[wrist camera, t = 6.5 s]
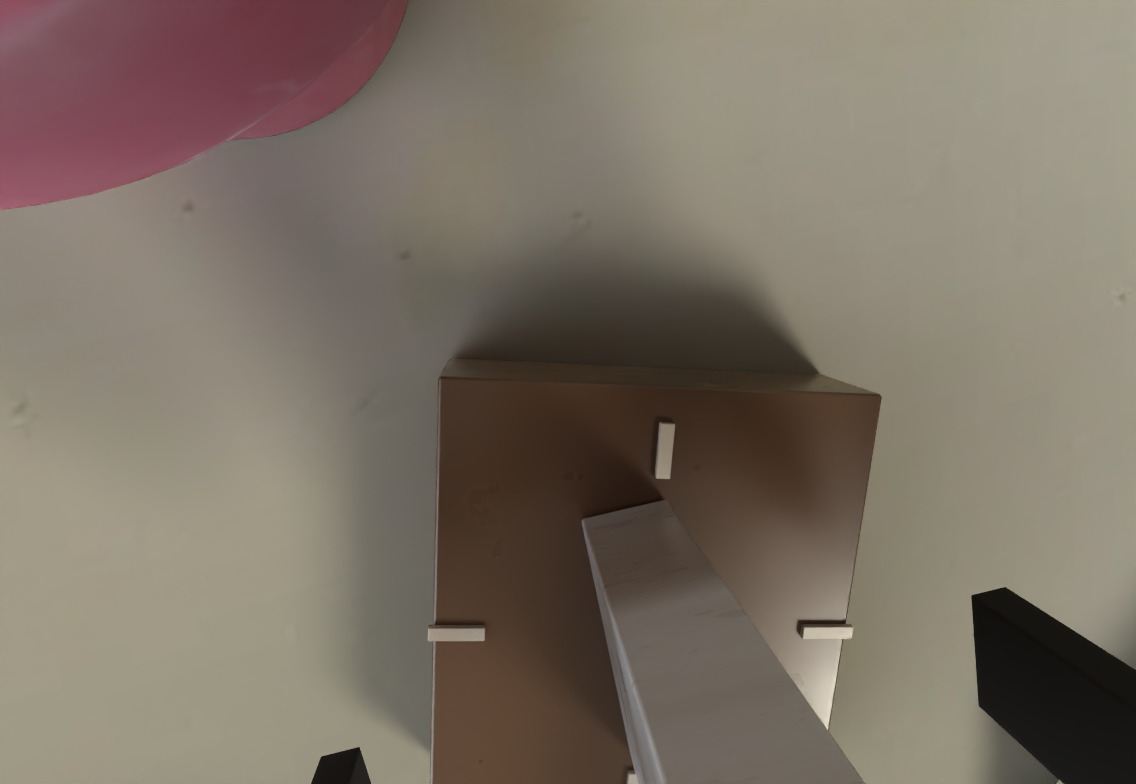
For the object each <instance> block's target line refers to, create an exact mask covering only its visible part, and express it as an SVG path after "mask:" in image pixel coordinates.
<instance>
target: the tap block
mask: <svg viewBox="0 0 1136 784" xmlns="http://www.w3.org/2000/svg"><path fill="white" fill-rule="evenodd" d="M880 404H881V395H880V394H878V393H875V392H872V391H869V390H866V389H863V388H860V387H857V386H854V385H851V384H848V383H845V382H842V381H839V380H836V379H833V378H830V377H827V376H824V375H813V374H790V373H768V372H745V371H722V370H700V369H677V368H654V367H632V366H609V365H587V364H564V363H541V362H519V361H496V360H473V359H450V360H449V361H448V363H447V365H446V366H445V368H444V370H443V371H442V373H441V375H440V377H439V379H438V412H437V461H436V511H435V561H434V611H433V625H429V627H428V641H433V661H432V710H431V760H430V784H638V781H637V778H636V774H635V770H634V766H633V762H632V758H631V755H630V750H629V745H628V740H627V736H626V731H625V726H624V721H623V717H622V712H621V707H620V702H619V698H618V693H617V688H616V683H615V679H614V674H613V669H612V664H611V660H610V655H609V650H608V645H607V641H606V636H605V631H604V626H603V622H602V617H601V612H600V607H599V603H598V598H597V593H596V588H595V584H594V579H593V574H592V569H591V565H590V560H589V555H588V550H587V546H586V541H585V536H584V531H583V527H582V520H583V519H585V518H589V517H593V516H598V515H602V514H606V513H611V512H615V511H619V510H624V509H628V508H632V507H636V506H641V505H645V504H649V503H654V502H658V501H662V500H667V502H668V503H669V505H670V506H671V507H672V509H673V510H674V512H675V513H676V515H677V516H678V517H679V519H680V520H681V522H682V523H683V525H684V526H685V527H686V529H687V530H688V532H689V533H690V534H691V536H692V537H693V539H694V540H695V542H696V543H697V544H698V546H699V547H700V549H701V550H702V552H703V553H704V554H705V556H706V557H707V559H708V560H709V562H710V563H711V564H712V566H713V567H714V569H715V570H716V572H717V573H718V574H719V576H720V577H721V579H722V580H723V582H724V583H725V584H726V586H727V587H728V589H729V590H730V591H731V593H732V594H733V596H734V597H735V599H736V600H737V601H738V603H739V604H740V606H741V607H742V609H743V610H744V611H745V613H746V614H747V616H748V617H749V619H750V620H751V621H752V623H753V624H754V626H755V627H756V629H757V630H758V631H759V633H760V634H761V636H762V637H763V639H764V640H765V641H766V643H767V644H768V646H769V647H770V648H771V650H772V651H773V653H774V654H775V656H776V657H777V658H778V660H779V661H780V663H781V664H782V666H783V667H784V668H785V670H786V671H787V673H788V674H789V676H790V677H791V678H792V680H793V681H794V683H795V684H796V686H797V687H798V688H799V690H800V691H801V693H802V694H803V696H804V697H805V698H806V700H807V701H808V703H809V704H810V705H811V707H812V708H813V710H814V711H815V713H816V714H817V715H818V717H819V718H820V720H821V721H822V723H823V724H824V725H825V727H826V728H827V730H828V731H829V725H830V719H831V712H832V706H833V700H834V693H835V687H836V681H837V675H838V668H839V662H840V656H841V649H842V643H843V639H852V633H853V626H852V625H851V624H846V618H847V612H848V605H849V599H850V593H851V587H852V580H853V574H854V568H855V561H856V555H857V549H858V543H859V536H860V530H861V524H862V517H863V511H864V505H865V498H866V492H867V486H868V480H869V473H870V467H871V461H872V454H873V448H874V442H875V436H876V429H877V423H878V417H879V410H880Z"/></svg>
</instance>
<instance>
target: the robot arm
mask: <svg viewBox="0 0 1136 784" xmlns="http://www.w3.org/2000/svg"><path fill="white" fill-rule="evenodd" d="M972 611H973V626H974V641H975V656H976V671H977V686H978V701H979V706H980V707H981V708H982V709H983V710H984V711H985V712H986V713H987V714H988V715H989V716H991V717H992V718H993V719H994V720H995V721H996V722H997V723H998V724H999V725H1000V726H1001V727H1002V728H1004V729H1005V730H1006V731H1007V732H1008V733H1009V734H1010V735H1011V736H1012V737H1013V738H1014V739H1015V740H1017V741H1018V742H1019V743H1020V744H1021V745H1022V746H1023V747H1024V748H1025V749H1026V750H1027V751H1028V752H1030V753H1031V754H1032V755H1033V756H1034V757H1035V758H1036V759H1037V760H1038V761H1039V762H1040V763H1042V764H1043V765H1044V766H1045V767H1046V768H1047V769H1048V770H1049V771H1050V772H1051V773H1052V774H1053V775H1055V776H1056V777H1057V778H1058V779H1059V780H1060V781H1061V782H1062V783H1063V784H1136V670H1135V669H1133V668H1131V667H1130V666H1128V665H1127V664H1125V663H1124V662H1122V661H1120V660H1119V659H1117V658H1116V657H1114V656H1113V655H1111V654H1109V653H1108V652H1106V651H1105V650H1103V649H1102V648H1100V647H1098V646H1097V645H1095V644H1094V643H1092V642H1091V641H1089V640H1087V639H1086V638H1084V637H1083V636H1081V635H1080V634H1078V633H1076V632H1075V631H1073V630H1072V629H1070V628H1069V627H1067V626H1065V625H1064V624H1062V623H1061V622H1059V621H1058V620H1056V619H1054V618H1053V617H1051V616H1050V615H1048V614H1047V613H1045V612H1043V611H1042V610H1040V609H1039V608H1037V607H1036V606H1034V605H1032V604H1031V603H1029V602H1028V601H1026V600H1025V599H1023V598H1021V597H1020V596H1018V595H1017V594H1015V593H1014V592H1012V591H1010V590H1009V589H1007V588H1006V587H1004V588H1000V589H996V590H991V591H987V592H983V593H979V594H975V595H972ZM311 784H371V782H370V779H369V776H368V772H367V769H366V766H365V763H364V760H363V757H362V754H361V751H360V747H358V748H354V749H350V750H346V751H342V752H338V753H334V754H330V755H326V756H322V757H321V759H320V761H319V764H318V767H317V769H316V772H315V775H314V777H313V780H312V783H311Z"/></svg>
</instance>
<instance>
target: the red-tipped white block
mask: <svg viewBox="0 0 1136 784" xmlns="http://www.w3.org/2000/svg"><path fill="white" fill-rule="evenodd" d="M582 527H583V531H584V536H585V541H586V546H587V550H588V555H589V560H590V565H591V569H592V574H593V579H594V584H595V588H596V593H597V598H598V603H599V607H600V612H601V617H602V622H603V626H604V631H605V636H606V641H607V645H608V650H609V655H610V660H611V664H612V669H613V674H614V679H615V683H616V688H617V693H618V698H619V702H620V707H621V712H622V717H623V721H624V726H625V731H626V736H627V740H628V745H629V750H630V755H631V758H632V762H633V766H634V770H635V774H636V778H637V781H638V784H865V782H864V781H863V780H862V778H861V777H860V775H859V774H858V772H857V771H856V770H855V768H854V767H853V765H852V764H851V763H850V761H849V760H848V758H847V757H846V755H845V754H844V753H843V751H842V750H841V748H840V747H839V745H838V744H837V743H836V741H835V740H834V738H833V737H832V735H831V734H830V733H829V731H828V730H827V728H826V727H825V725H824V724H823V723H822V721H821V720H820V718H819V717H818V715H817V714H816V713H815V711H814V710H813V708H812V707H811V705H810V704H809V703H808V701H807V700H806V698H805V697H804V696H803V694H802V693H801V691H800V690H799V688H798V687H797V686H796V684H795V683H794V681H793V680H792V678H791V677H790V676H789V674H788V673H787V671H786V670H785V668H784V667H783V666H782V664H781V663H780V661H779V660H778V658H777V657H776V656H775V654H774V653H773V651H772V650H771V648H770V647H769V646H768V644H767V643H766V641H765V640H764V639H763V637H762V636H761V634H760V633H759V631H758V630H757V629H756V627H755V626H754V624H753V623H752V621H751V620H750V619H749V617H748V616H747V614H746V613H745V611H744V610H743V609H742V607H741V606H740V604H739V603H738V601H737V600H736V599H735V597H734V596H733V594H732V593H731V591H730V590H729V589H728V587H727V586H726V584H725V583H724V582H723V580H722V579H721V577H720V576H719V574H718V573H717V572H716V570H715V569H714V567H713V566H712V564H711V563H710V562H709V560H708V559H707V557H706V556H705V554H704V553H703V552H702V550H701V549H700V547H699V546H698V544H697V543H696V542H695V540H694V539H693V537H692V536H691V534H690V533H689V532H688V530H687V529H686V527H685V526H684V525H683V523H682V522H681V520H680V519H679V517H678V516H677V515H676V513H675V512H674V510H673V509H672V507H671V506H670V505H669V503H668V502H667V500H662V501H658V502H654V503H649V504H645V505H641V506H636V507H632V508H628V509H624V510H619V511H615V512H611V513H606V514H602V515H598V516H593V517H589V518H585V519H583V520H582Z"/></svg>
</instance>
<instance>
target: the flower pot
mask: <svg viewBox="0 0 1136 784" xmlns="http://www.w3.org/2000/svg"><path fill="white" fill-rule="evenodd" d="M407 2H408V0H0V210H4V209H11V208H19V207H27V206H35V205H41V204H46V203H51V202H56V201H61V200H66V199H71V198H76V197H81V196H86V195H91V194H95V193H98V192H101V191H105V190H108V189H111V188H115V187H118V186H121V185H124V184H128V183H131V182H134V181H138V180H141V179H144V178H146V177H149V176H152V175H154V174H157V173H160V172H162V171H165V170H167V169H170V168H173V167H175V166H178V165H180V164H183V163H186V162H188V161H190V160H191V159H193V158H195V157H197V156H199V155H201V154H203V153H205V152H207V151H208V150H210V149H212V148H214V147H216V146H218V145H220V144H222V143H224V142H226V141H228V140H235V139H248V138H260V137H267V136H274V135H278V134H282V133H285V132H289V131H293V130H296V129H299V128H301V127H303V126H306V125H308V124H310V123H312V122H315V121H317V120H319V119H321V118H323V117H324V116H326V115H328V114H330V113H332V112H333V111H335V110H336V109H338V108H339V107H340V106H342V105H343V104H344V103H345V102H347V101H348V100H349V99H350V98H351V97H352V96H353V95H354V94H356V93H357V92H358V91H359V90H360V89H361V88H362V87H363V85H364V84H365V83H366V82H367V81H368V80H369V79H370V77H371V76H372V75H373V73H374V72H375V71H376V69H377V68H378V67H379V65H380V64H381V62H382V61H383V59H384V58H385V56H386V54H387V53H388V51H389V49H390V47H391V46H392V43H393V41H394V39H395V37H396V35H397V33H398V31H399V28H400V25H401V22H402V20H403V17H404V14H405V10H406V6H407Z"/></svg>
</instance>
